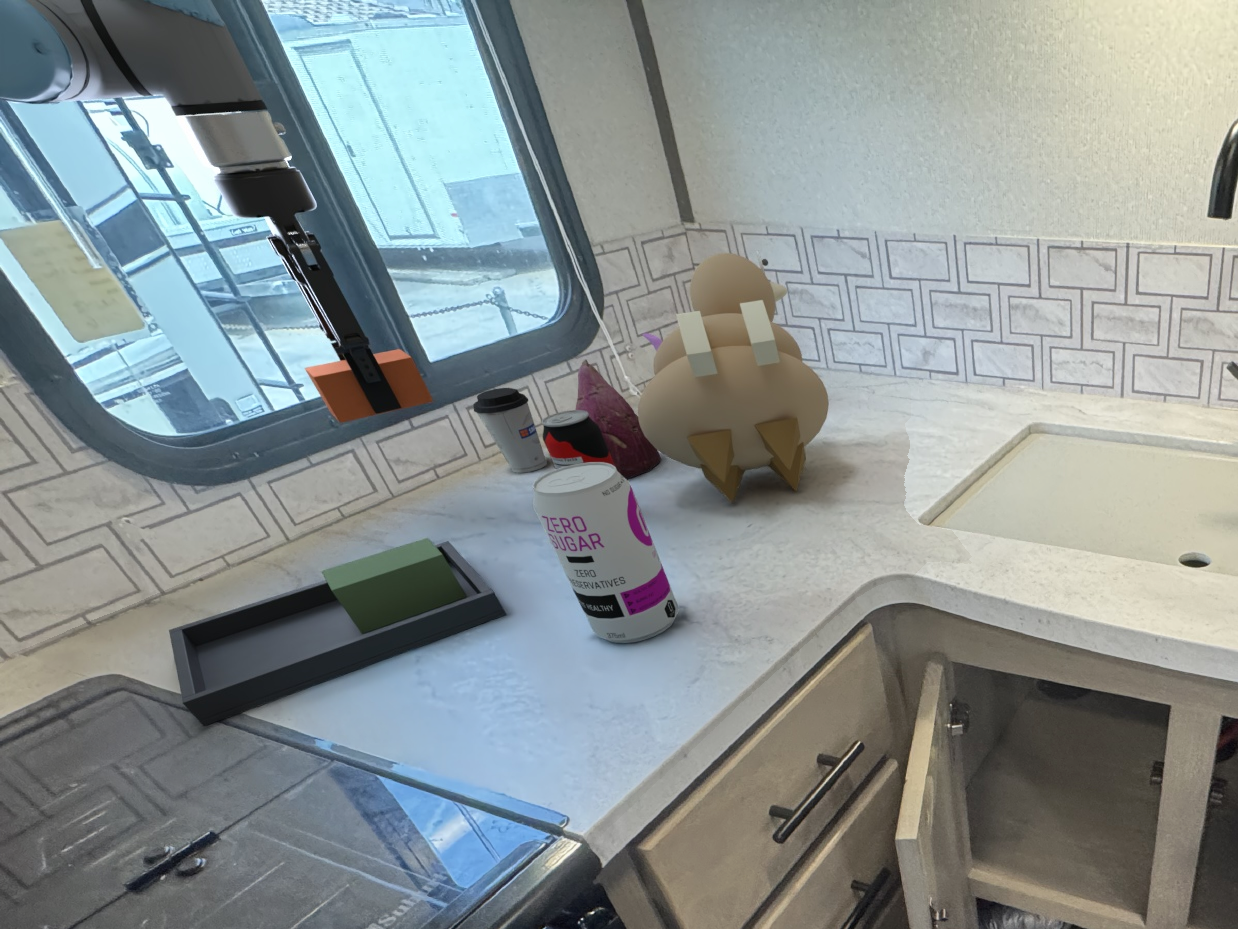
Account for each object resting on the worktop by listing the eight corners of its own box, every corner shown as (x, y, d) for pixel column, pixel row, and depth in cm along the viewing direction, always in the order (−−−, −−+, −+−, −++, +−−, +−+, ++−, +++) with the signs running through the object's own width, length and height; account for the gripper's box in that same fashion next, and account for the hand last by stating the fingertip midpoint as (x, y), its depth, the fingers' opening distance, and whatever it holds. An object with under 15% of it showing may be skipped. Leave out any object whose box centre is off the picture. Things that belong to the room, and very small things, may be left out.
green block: (350, 614, 88) (320, 570, 84) (452, 579, 92) (427, 537, 89) (362, 634, 84) (331, 590, 81) (467, 597, 89) (442, 554, 86)
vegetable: (604, 482, 122) (553, 371, 115) (672, 464, 122) (625, 352, 115) (578, 492, 113) (521, 372, 106) (652, 472, 113) (599, 351, 106)
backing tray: (187, 651, 85) (168, 629, 83) (460, 561, 97) (448, 540, 95) (203, 726, 74) (182, 703, 73) (506, 614, 87) (494, 592, 85)
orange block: (330, 412, 100) (304, 367, 96) (421, 392, 105) (399, 348, 101) (340, 423, 96) (313, 377, 93) (434, 401, 101) (411, 357, 98)
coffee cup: (494, 477, 117) (458, 403, 111) (516, 459, 122) (482, 387, 116) (543, 474, 117) (509, 399, 110) (563, 455, 122) (532, 383, 116)
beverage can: (642, 511, 105) (604, 412, 97) (599, 530, 101) (555, 429, 93) (612, 502, 108) (573, 405, 100) (569, 520, 104) (524, 422, 96)
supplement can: (678, 597, 87) (622, 453, 77) (682, 634, 81) (622, 484, 72) (597, 615, 85) (529, 470, 76) (595, 654, 80) (521, 503, 70)
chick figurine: (775, 162, 90) (551, 187, 85) (847, 415, 90) (629, 454, 86) (796, 322, 119) (631, 347, 114) (850, 512, 120) (688, 545, 115)
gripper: (311, 166, 81) (436, 412, 97) (281, 160, 92) (398, 382, 108) (218, 176, 78) (363, 430, 93) (199, 168, 89) (331, 397, 104)
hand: (381, 404), depth 100 cm, fingers closed on orange block, 6 cm apart
